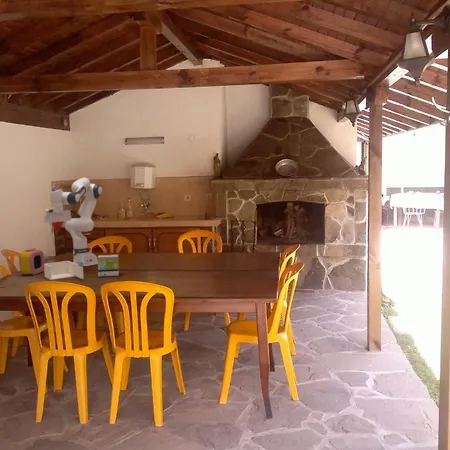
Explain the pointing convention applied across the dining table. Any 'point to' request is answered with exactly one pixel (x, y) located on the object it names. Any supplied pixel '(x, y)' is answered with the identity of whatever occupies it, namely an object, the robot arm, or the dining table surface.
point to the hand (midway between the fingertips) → (58, 227)
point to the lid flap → (78, 270)
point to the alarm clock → (31, 261)
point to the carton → (59, 270)
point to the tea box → (108, 265)
